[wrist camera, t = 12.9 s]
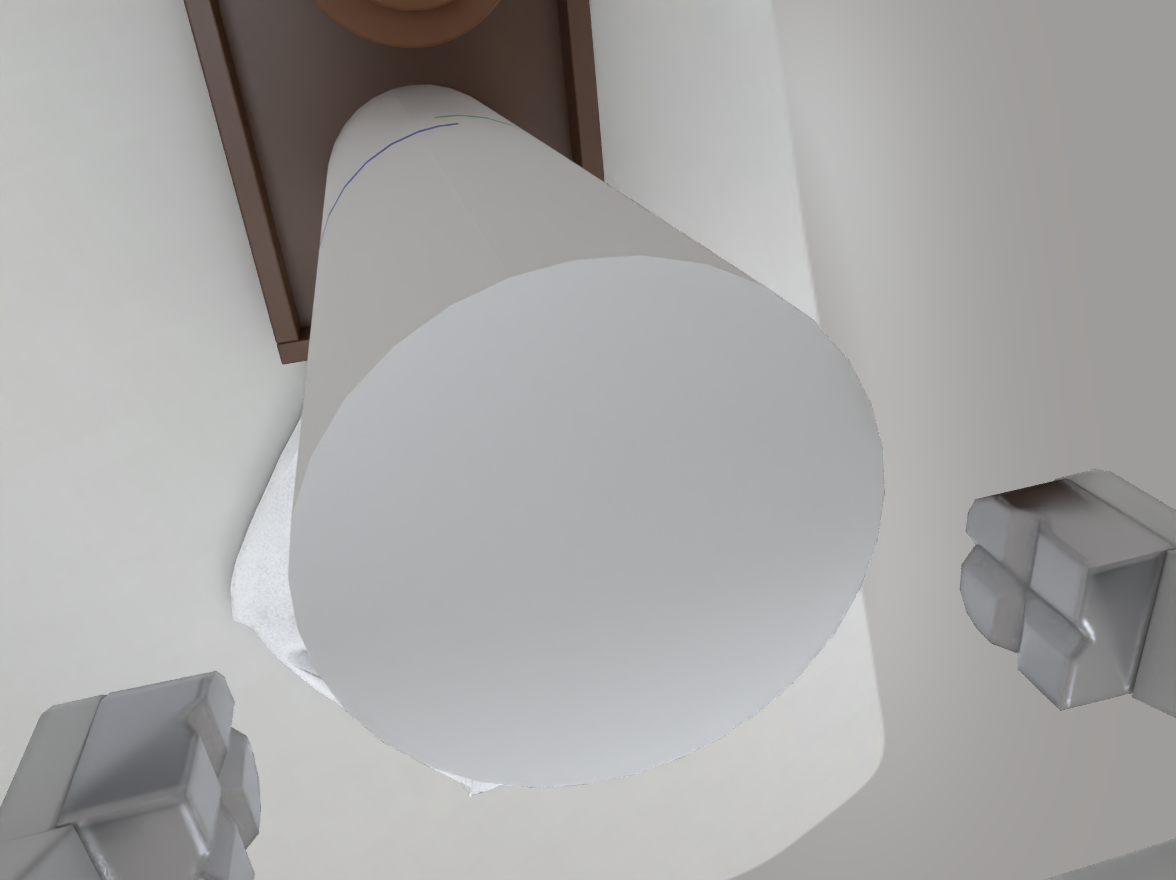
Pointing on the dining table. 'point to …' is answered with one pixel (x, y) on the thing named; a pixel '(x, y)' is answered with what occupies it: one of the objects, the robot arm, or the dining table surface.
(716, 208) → the dining table surface
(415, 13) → the brown bottle
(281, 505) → the cloth
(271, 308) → the tray
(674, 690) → the cylindrical container
